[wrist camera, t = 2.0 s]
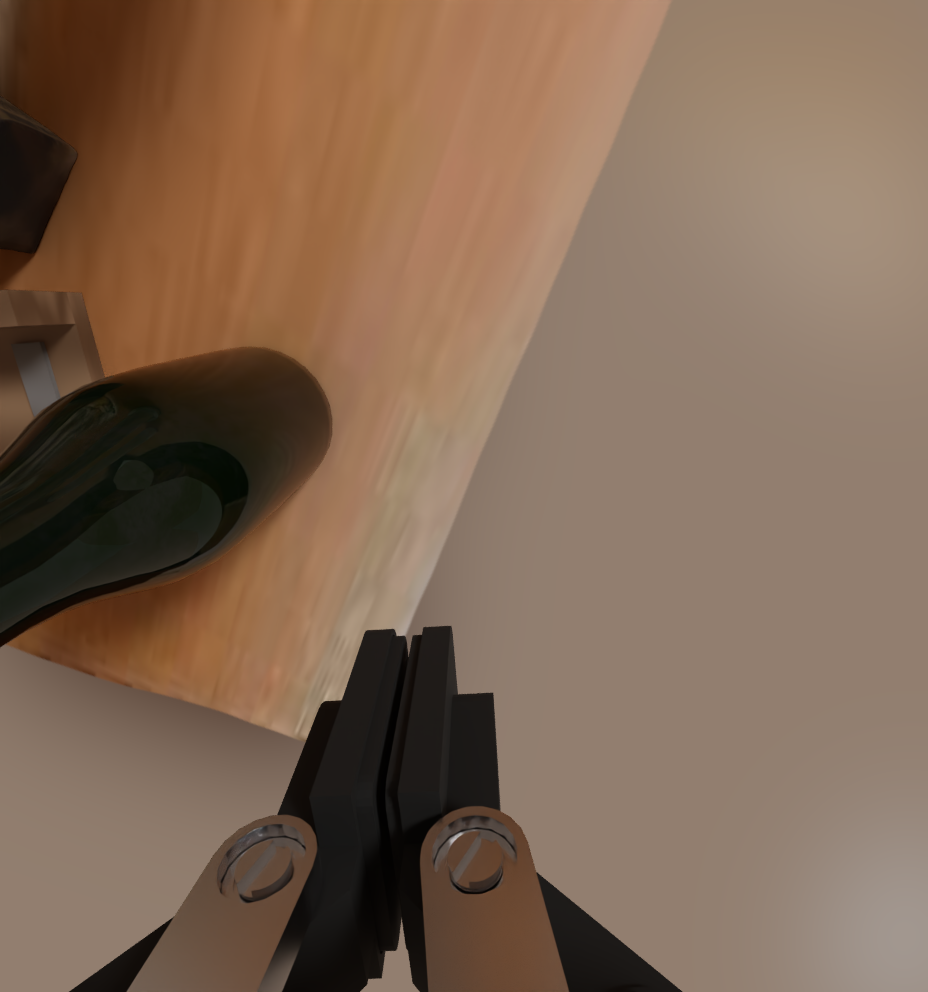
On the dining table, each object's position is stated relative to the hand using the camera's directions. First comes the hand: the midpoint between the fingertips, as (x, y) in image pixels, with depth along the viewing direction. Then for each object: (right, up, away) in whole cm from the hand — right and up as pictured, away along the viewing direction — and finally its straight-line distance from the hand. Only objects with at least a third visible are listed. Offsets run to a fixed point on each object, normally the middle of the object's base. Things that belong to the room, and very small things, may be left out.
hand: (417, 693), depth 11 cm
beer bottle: (-14, +10, +30) cm, 35 cm away
